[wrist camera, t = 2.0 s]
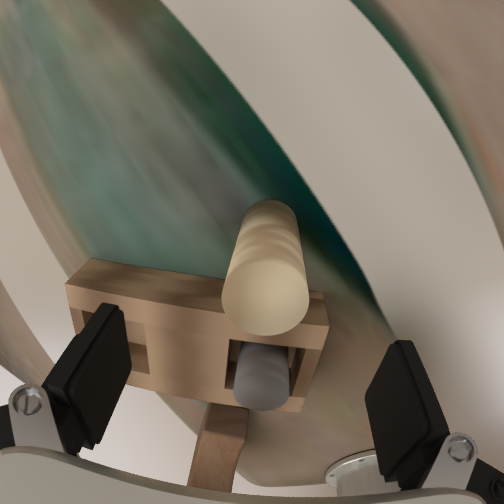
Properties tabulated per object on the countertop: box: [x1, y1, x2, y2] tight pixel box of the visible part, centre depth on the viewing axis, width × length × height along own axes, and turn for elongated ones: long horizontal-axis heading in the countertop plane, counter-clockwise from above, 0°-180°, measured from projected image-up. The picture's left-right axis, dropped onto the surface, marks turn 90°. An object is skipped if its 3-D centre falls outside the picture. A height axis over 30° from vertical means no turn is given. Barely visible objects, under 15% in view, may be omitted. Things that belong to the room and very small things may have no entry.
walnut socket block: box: [65, 259, 330, 413], centre depth 25 cm, size 20×10×7 cm, turn 83°
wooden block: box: [187, 402, 249, 493], centre depth 26 cm, size 9×4×18 cm, turn 164°
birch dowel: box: [222, 199, 309, 336], centre depth 19 cm, size 4×4×10 cm
